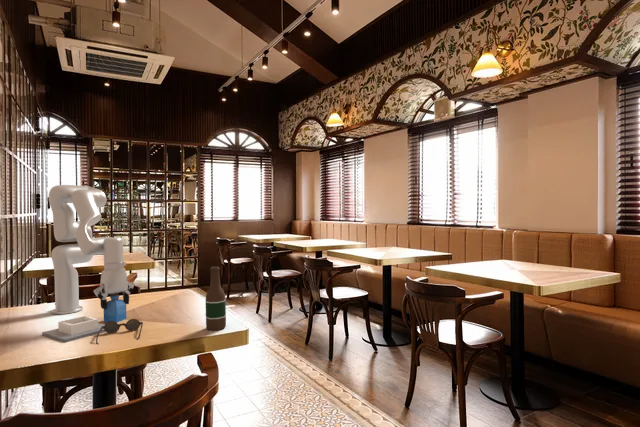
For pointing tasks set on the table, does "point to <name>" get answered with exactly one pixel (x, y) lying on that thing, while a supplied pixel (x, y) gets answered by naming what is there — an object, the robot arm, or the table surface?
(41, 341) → the table surface
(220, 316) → the beer bottle
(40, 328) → the table surface
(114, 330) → the eyeglasses
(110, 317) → the perfume bottle
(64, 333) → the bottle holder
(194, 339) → the table surface
